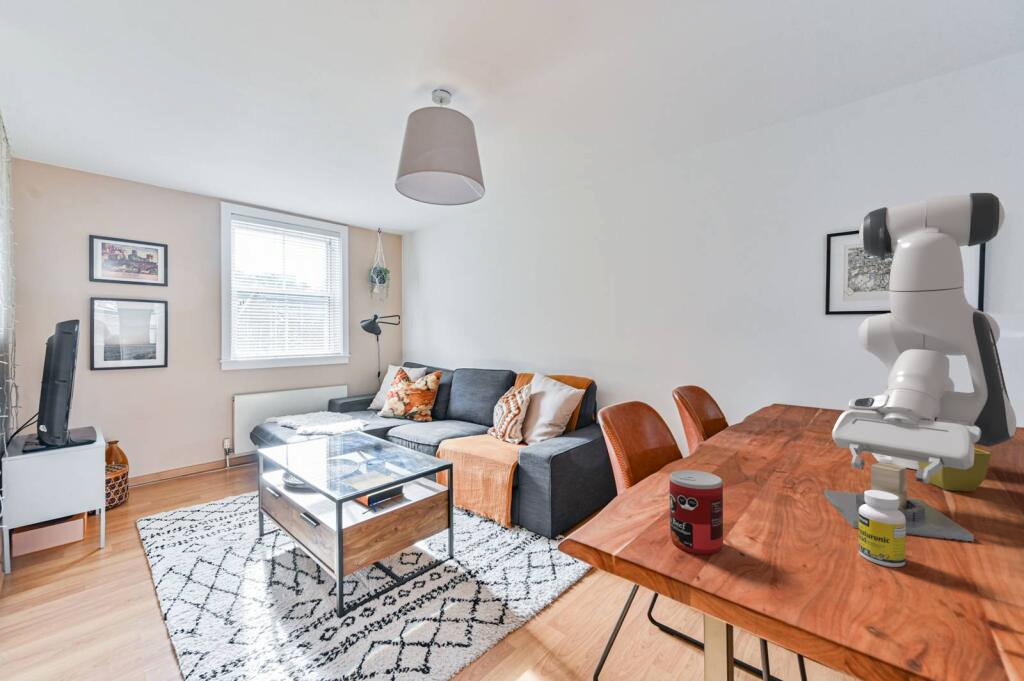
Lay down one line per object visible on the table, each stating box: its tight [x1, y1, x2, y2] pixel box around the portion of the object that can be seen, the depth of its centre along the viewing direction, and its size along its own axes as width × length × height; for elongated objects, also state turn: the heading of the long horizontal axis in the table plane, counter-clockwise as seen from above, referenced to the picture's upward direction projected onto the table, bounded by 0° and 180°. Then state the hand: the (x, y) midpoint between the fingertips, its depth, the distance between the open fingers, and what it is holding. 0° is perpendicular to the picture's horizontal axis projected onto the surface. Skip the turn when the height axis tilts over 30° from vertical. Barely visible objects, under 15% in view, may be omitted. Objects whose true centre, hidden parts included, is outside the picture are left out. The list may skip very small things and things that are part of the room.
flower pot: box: [917, 447, 992, 492], centre depth 94 cm, size 9×9×9 cm
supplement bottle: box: [858, 489, 907, 568], centre depth 65 cm, size 5×5×10 cm
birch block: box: [870, 461, 908, 509], centre depth 80 cm, size 4×4×8 cm
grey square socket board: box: [823, 489, 975, 543], centre depth 80 cm, size 16×16×3 cm
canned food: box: [669, 469, 724, 555], centre depth 70 cm, size 8×8×11 cm
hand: (887, 473), depth 80 cm, fingers open, 8 cm apart
